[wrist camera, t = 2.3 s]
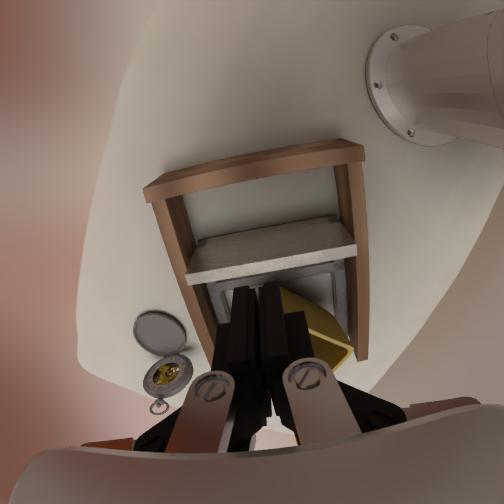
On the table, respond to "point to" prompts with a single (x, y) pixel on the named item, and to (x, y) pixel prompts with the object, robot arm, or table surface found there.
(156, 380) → the pocket watch
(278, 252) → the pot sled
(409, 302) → the table surface
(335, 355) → the flower pot
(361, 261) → the frame
